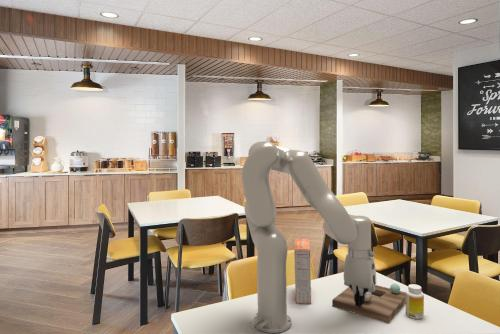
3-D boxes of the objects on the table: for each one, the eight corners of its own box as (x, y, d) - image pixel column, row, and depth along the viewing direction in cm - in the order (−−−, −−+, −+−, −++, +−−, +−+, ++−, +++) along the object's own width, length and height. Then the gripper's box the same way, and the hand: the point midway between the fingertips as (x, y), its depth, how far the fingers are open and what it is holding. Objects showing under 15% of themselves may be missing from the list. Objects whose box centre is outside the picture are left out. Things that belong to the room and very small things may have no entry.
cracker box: (295, 288, 145) (294, 238, 144) (310, 288, 144) (309, 238, 143) (294, 303, 131) (294, 248, 130) (311, 304, 131) (310, 248, 129)
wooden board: (388, 323, 116) (388, 316, 116) (332, 306, 129) (332, 299, 129) (408, 299, 133) (408, 293, 133) (357, 286, 146) (357, 280, 145)
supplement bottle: (427, 318, 119) (427, 288, 118) (412, 320, 117) (413, 290, 117) (416, 310, 124) (416, 282, 123) (402, 312, 123) (402, 284, 122)
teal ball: (398, 295, 131) (398, 286, 130) (388, 293, 133) (388, 284, 132) (401, 292, 133) (401, 283, 133) (391, 290, 135) (391, 281, 135)
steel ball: (369, 305, 123) (369, 293, 123) (356, 302, 126) (356, 289, 126) (373, 301, 127) (373, 288, 126) (361, 297, 130) (361, 285, 129)
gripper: (385, 253, 119) (385, 307, 120) (343, 246, 129) (343, 295, 130) (377, 259, 113) (376, 315, 115) (333, 251, 123) (334, 302, 124)
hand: (359, 304), depth 122 cm, fingers closed
